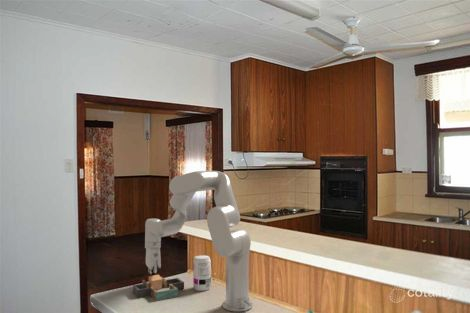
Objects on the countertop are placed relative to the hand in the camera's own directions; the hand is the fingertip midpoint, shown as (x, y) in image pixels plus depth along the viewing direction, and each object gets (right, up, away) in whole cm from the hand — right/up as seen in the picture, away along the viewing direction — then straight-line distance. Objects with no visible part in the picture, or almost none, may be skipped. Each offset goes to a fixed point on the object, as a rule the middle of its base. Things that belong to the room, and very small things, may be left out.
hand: (152, 281), depth 182 cm
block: (+2, -1, -4) cm, 4 cm away
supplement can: (+25, -2, -4) cm, 25 cm away
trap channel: (+5, -2, -8) cm, 9 cm away
